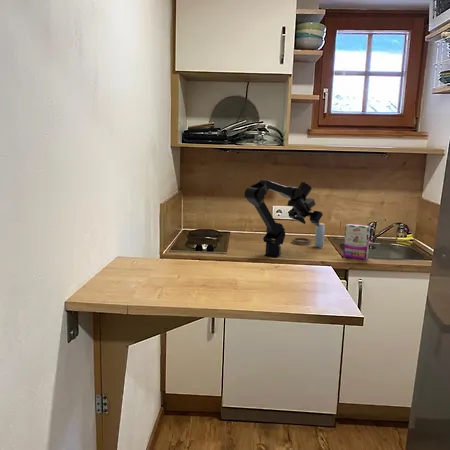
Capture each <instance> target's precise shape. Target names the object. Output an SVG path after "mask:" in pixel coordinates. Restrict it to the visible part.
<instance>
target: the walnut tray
mask: <svg viewBox="0 0 450 450" xmlns="http://www.w3.org/2000/svg"><path fill="white" fill-rule="evenodd" d="M291 242H292V244H293V245H298V246H309V245H312V244H311V242H312V239H311V238H307V237H293V238H292V240H291Z"/></svg>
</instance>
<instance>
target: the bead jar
mask: <svg viewBox="0 0 450 450" xmlns="http://www.w3.org/2000/svg"><path fill="white" fill-rule="evenodd" d="M325 227H326V225H325V223H324V222H319V227H317V226H316V225H315V233H314V235H315V236H314V247H315V248H317V247H319V248H321V247H323V248H324V241H325V231H326V230H325ZM319 248H318V249H319ZM321 249H322V248H321Z"/></svg>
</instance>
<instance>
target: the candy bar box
mask: <svg viewBox="0 0 450 450" xmlns="http://www.w3.org/2000/svg"><path fill="white" fill-rule="evenodd" d="M344 229H345V232H344V243H343V244H344V246H343V255H342V257H343V258H347V259H352V260H353V259H354V260H360V261H366V259H367V260H368V258H369V248H370V237H371V225H366V224H365V225H364V224H354V223H346V224H345V228H344Z"/></svg>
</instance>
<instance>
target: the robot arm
mask: <svg viewBox="0 0 450 450" xmlns="http://www.w3.org/2000/svg"><path fill="white" fill-rule="evenodd" d="M312 190H313V189H312V186H310V185H309V184H307V183H306V182H305V181H301V182H300V184H299V186H298V187H296V186H289V185H288V186H287V185H282V184H279V183H277V182H273V181H270V180H269V179H261V180H259V181H258V182H256V183H253V184H251V185H250V186H248V187H247V188H245V191H244V195H243V196H244V198H245V199H246V200H247V202H249V203H250V204H251V205H252V206H254V207H255V209H256V211H257V213H258V215H259V216H260V218H261V219H262V222H263V223H264V224H265V226H266V230H265V232H266V233H265V235H264V236H263V238H262V240H263V243H265V253H264V254H263V256H265V257H271V258H278V257H279V256H281V254H282V253H281V252H282V245H283V243H284V242H285V237H286V229H285V228H284V225H283V224H282V223H279V222H276V221H275V219H274V217H273V215H272V213H271V211H270V210H269V208H268V206H267V204H266V203H265V198H266V197H265V196H267V194H268V191H272V192H274V193H277V194H279V195H280V196H282V197H283V198H286V199H289V200H287V201H288V202H287V205H286V206H288V207H292V208H291V209H290V211H288V217H289V219H292V220H294V221H297V222H299V223H301V224H303V225H306V220H305V219H306V217H307V218H309V221H310V223H311V224H312V225H315V227H316V226H317V227H319V223H320V220H321V218H322V217H323V216H324V214H323V212H322V211H320V210H314V211H313V212H312V208H313V207H314V206H316V202H315V199H314V198H309V197H308V196H309V195H310V192H311V191H312ZM307 197H308V198H307Z"/></svg>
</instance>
